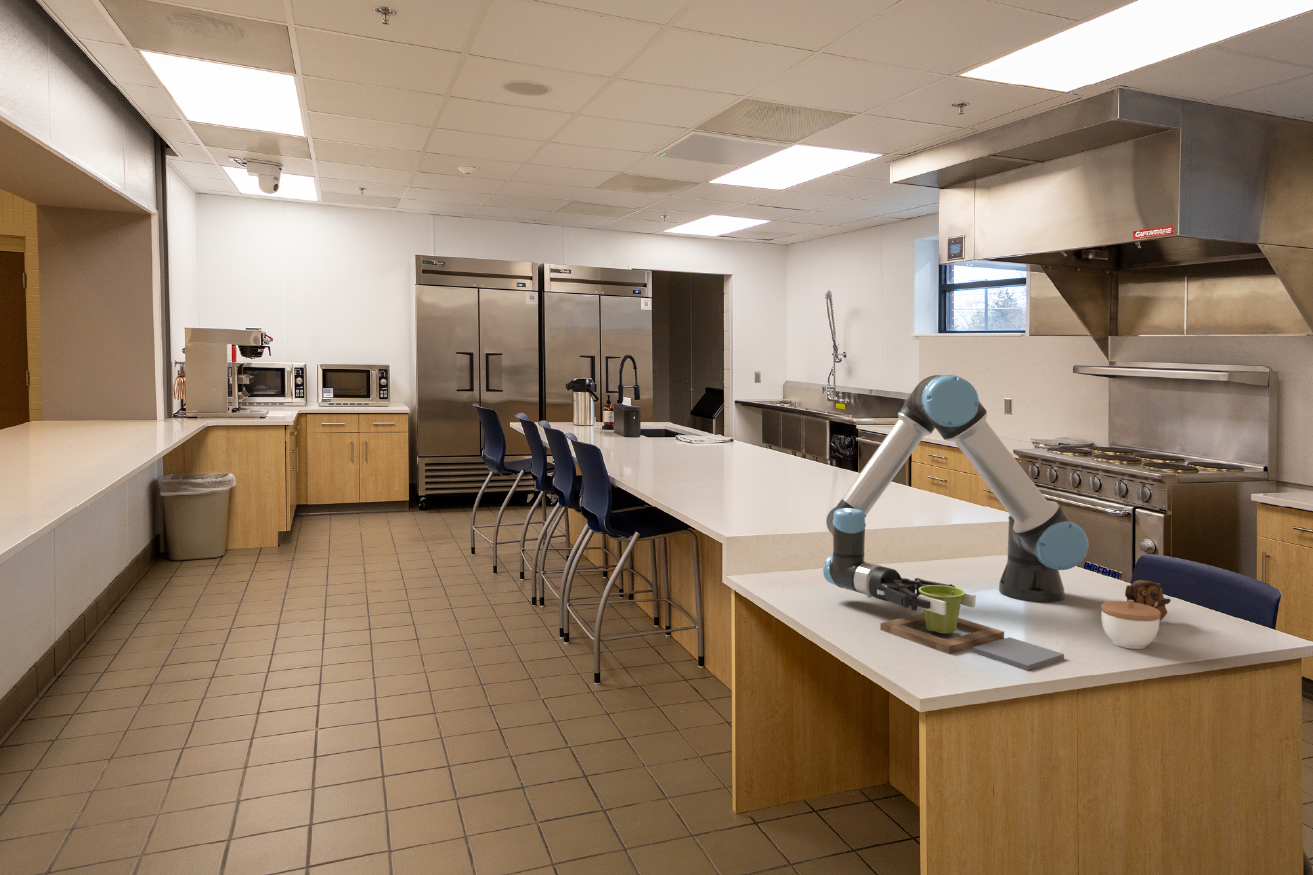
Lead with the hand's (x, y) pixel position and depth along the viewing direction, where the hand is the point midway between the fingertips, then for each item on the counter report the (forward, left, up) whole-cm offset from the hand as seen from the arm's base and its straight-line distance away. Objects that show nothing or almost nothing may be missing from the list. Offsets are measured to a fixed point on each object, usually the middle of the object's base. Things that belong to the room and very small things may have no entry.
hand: (959, 604), depth 172 cm
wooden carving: (-44, +15, -8) cm, 47 cm away
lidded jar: (-28, +20, -8) cm, 36 cm away
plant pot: (0, -5, -7) cm, 8 cm away
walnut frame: (0, -5, -8) cm, 9 cm away
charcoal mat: (-2, +12, -8) cm, 15 cm away
